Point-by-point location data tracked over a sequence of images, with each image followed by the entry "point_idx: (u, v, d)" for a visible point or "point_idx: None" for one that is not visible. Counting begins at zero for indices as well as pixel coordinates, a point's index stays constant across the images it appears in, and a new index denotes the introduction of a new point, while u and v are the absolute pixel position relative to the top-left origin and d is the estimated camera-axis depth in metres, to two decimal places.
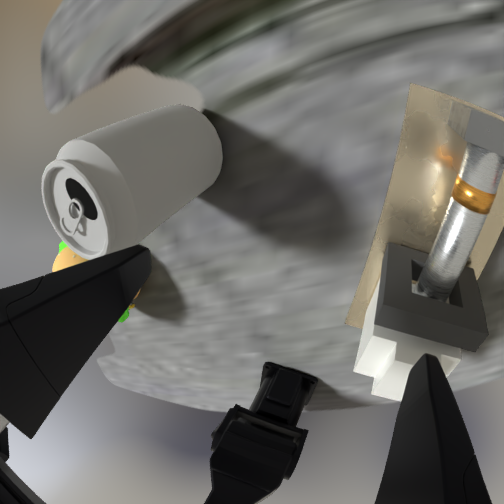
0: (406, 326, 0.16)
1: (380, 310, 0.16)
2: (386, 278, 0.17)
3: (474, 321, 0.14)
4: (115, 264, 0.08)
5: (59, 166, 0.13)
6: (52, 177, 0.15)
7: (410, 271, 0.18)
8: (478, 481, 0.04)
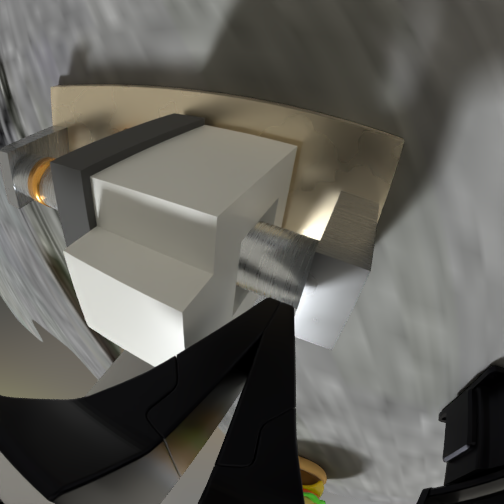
0: None
1: None
2: None
3: None
4: (260, 329, 0.07)
5: None
6: None
7: None
8: (294, 441, 0.05)
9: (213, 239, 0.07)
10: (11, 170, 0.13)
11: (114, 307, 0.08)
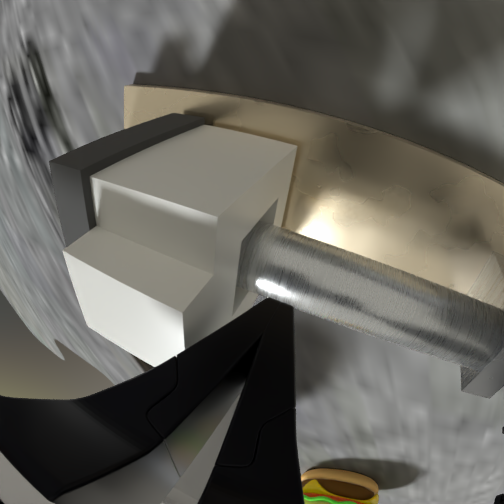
0: None
1: None
2: None
3: None
4: (260, 329, 0.07)
5: None
6: None
7: None
8: (294, 441, 0.05)
9: (213, 239, 0.07)
10: None
11: (113, 308, 0.08)
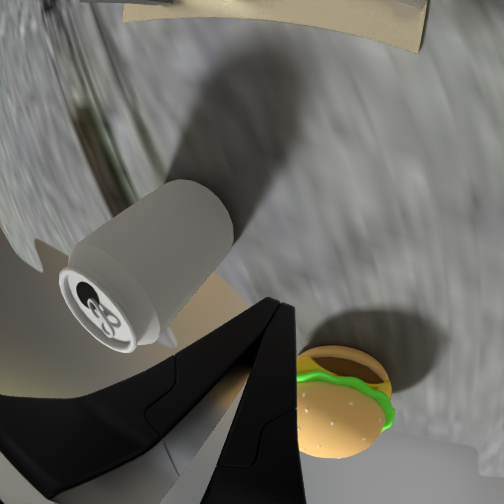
0: None
1: (85, 0, 0.10)
2: (110, 1, 0.12)
3: None
4: (259, 329, 0.07)
5: (65, 296, 0.17)
6: (87, 318, 0.18)
7: None
8: (296, 442, 0.05)
9: None
10: None
11: None
